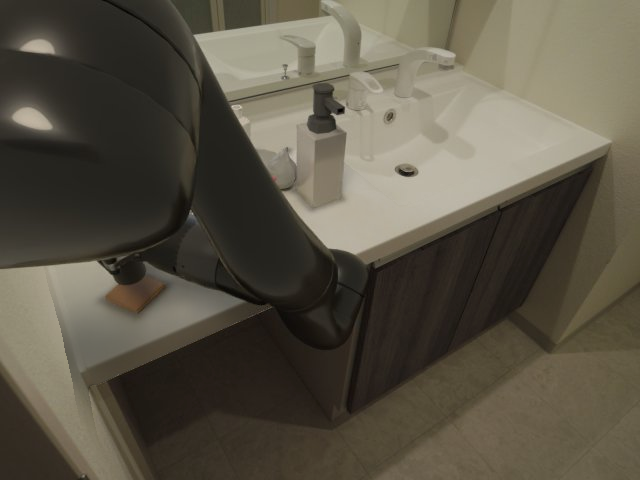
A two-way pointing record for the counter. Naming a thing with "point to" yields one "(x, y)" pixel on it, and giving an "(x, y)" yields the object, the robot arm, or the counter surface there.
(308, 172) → the soap dispenser
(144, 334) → the counter surface
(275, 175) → the figurine
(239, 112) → the perfume bottle
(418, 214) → the counter surface
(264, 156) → the eyeglasses
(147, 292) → the coaster
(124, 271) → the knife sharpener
